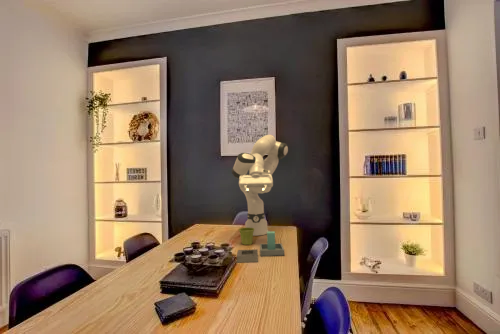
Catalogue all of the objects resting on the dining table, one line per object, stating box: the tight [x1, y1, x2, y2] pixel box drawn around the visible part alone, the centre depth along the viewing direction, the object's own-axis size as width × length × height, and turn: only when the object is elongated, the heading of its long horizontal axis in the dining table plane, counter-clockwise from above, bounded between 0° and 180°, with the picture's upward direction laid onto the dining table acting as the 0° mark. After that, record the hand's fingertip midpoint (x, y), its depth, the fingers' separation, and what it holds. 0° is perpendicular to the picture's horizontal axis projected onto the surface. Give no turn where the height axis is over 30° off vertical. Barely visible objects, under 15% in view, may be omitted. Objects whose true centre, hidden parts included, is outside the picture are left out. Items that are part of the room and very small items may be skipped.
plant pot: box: [238, 227, 254, 246], centre depth 154 cm, size 9×9×9 cm
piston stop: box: [266, 230, 276, 250], centre depth 135 cm, size 4×4×10 cm
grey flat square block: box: [236, 248, 259, 264], centre depth 126 cm, size 10×10×3 cm
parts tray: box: [259, 242, 285, 257], centre depth 135 cm, size 12×12×3 cm
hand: (255, 191), depth 146 cm, fingers open, 8 cm apart
